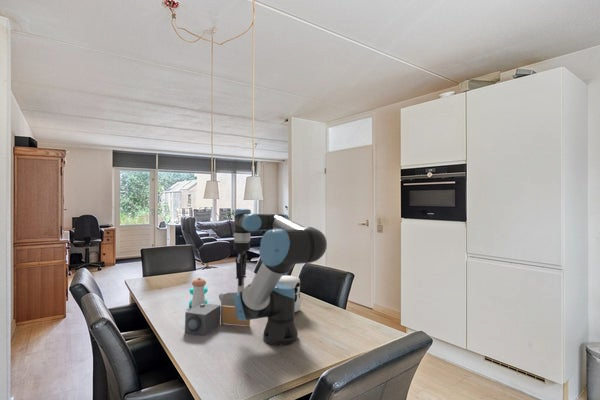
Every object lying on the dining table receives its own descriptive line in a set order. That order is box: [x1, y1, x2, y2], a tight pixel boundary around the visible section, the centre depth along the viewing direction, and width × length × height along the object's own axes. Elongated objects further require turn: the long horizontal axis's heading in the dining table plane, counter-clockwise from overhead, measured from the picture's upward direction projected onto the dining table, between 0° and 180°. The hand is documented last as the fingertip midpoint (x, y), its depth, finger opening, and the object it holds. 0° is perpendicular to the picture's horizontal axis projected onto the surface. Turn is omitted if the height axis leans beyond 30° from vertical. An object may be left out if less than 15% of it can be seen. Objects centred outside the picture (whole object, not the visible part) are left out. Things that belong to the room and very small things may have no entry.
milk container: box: [277, 275, 302, 314], centre depth 173 cm, size 17×17×18 cm
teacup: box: [218, 292, 236, 306], centre depth 175 cm, size 14×11×8 cm
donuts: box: [188, 286, 208, 308], centre depth 179 cm, size 10×10×10 cm
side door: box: [220, 305, 251, 327], centre depth 152 cm, size 1×15×8 cm, turn 81°
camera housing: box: [184, 303, 221, 336], centre depth 146 cm, size 10×16×10 cm, turn 166°
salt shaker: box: [190, 277, 207, 310], centre depth 165 cm, size 7×7×19 cm
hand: (240, 292), depth 147 cm, fingers closed
